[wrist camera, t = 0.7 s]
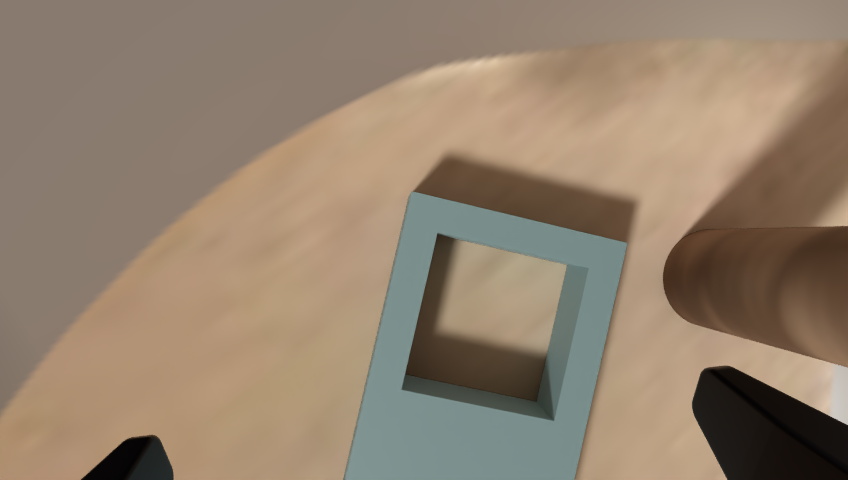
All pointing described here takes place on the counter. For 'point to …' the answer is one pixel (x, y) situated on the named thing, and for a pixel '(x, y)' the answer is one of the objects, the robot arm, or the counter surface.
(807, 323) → the pepper mill
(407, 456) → the socket stand
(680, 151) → the counter surface
